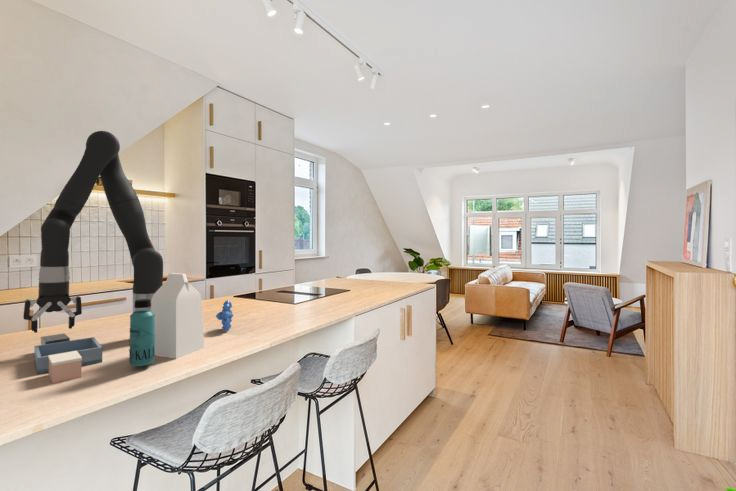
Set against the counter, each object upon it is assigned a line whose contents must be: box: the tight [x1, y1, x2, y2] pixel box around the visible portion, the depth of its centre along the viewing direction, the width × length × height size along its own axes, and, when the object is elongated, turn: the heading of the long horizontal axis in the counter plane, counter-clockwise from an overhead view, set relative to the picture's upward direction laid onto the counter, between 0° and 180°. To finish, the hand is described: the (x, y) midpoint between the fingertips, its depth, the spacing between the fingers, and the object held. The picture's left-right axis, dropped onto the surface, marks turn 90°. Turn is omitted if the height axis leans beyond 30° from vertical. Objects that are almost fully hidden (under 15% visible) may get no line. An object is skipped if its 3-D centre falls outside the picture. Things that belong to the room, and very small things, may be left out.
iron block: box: [40, 333, 71, 345], centre depth 120 cm, size 6×8×5 cm
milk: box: [151, 272, 205, 360], centre depth 122 cm, size 12×12×26 cm
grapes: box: [215, 299, 234, 332], centre depth 150 cm, size 12×7×12 cm, turn 15°
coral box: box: [48, 351, 83, 384], centre depth 101 cm, size 6×8×6 cm
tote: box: [33, 336, 103, 375], centre depth 112 cm, size 15×15×4 cm
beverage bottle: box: [128, 299, 156, 367], centre depth 107 cm, size 6×7×20 cm
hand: (53, 330), depth 119 cm, fingers open, 8 cm apart
